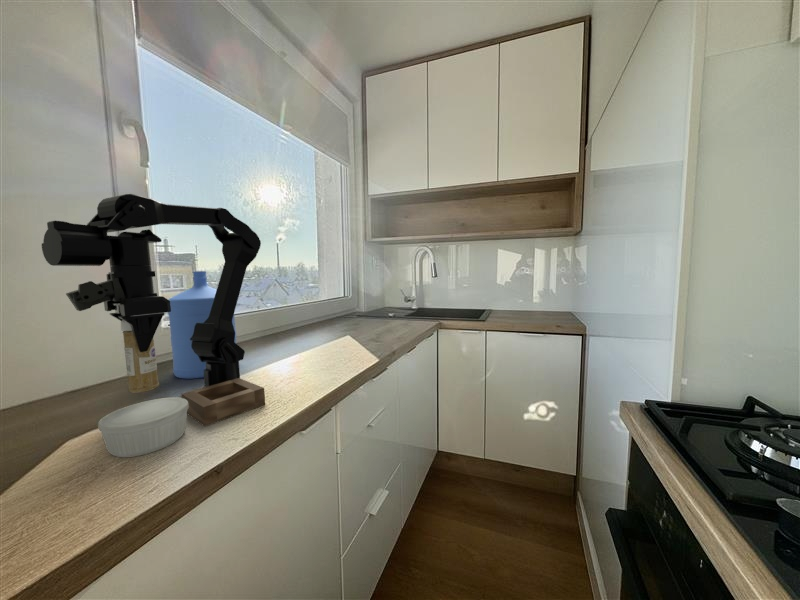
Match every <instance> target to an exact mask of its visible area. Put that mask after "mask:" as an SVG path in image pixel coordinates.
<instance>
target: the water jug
mask: <svg viewBox="0 0 800 600" xmlns="http://www.w3.org/2000/svg"><path fill="white" fill-rule="evenodd" d="M192 273H193V277H192V278H193V286H192V287H190V288H188V289H187V290H184V291H183V292H180V293H178V294H176V295H173V296H172V297H169V299H168V298H167V299H168V300H169V301H170V306H171V312H167V315H168V317H169V318H168V319H169V321H168V322H169V327H170V341H171V342H170V343H171V351H172V361H173V362H172V363H173V364H172V365H173V367H172V370H173V375H174V376H175V377H177V378H179V379H187V380H189V379H204V370H205V369H206V363H207V362H201V361H200V359H199V357H198V355H197V354H195V352H194V351H193V349H192V347H191V345H192V340H190V338H191V337H192V335H193V333H194V327H195V325H196V323H204V322H205V321H206V320H207V319H208V317H209V314H210V311H211V308H212V304H213V301H214V298H215V294H216V291H217V288H214V287H211V286H209V285H208V277H207V271H206V270H205V271H204V270H202V271H199V270H198V271H192ZM232 324H233V327H234V330H235V341H234V342H235V343H236V344H237V329H236V321H235V314H234V315H233V319H232Z"/></svg>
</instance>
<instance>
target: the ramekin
mask: <svg viewBox="0 0 800 600" xmlns="http://www.w3.org/2000/svg"><path fill="white" fill-rule="evenodd" d="M188 407H189V404H188V401H187V400H186V399H183V398H182V397H176V396H175V397H173V396H172V397H163V398H155V399H150V400H145V401H142V402H138V403H134V404H131V405H128V406H127V405H126V406H125V407H122V408H119V409H116V410H114V411H112V412H110V413H108V414H106V415H105V416H103V417H101V419H100V420H99V421H98V423H97V427H98V428H97V429H98V431H99V432H100V433H101V435H102V438H103V440H104V443H105V447H106V450H107V451H108V453H110V455H112V456H114V457H118V458H133V457H139V456H143V455H148V454H150V453H153V452H157V451H160V450H162V449H165V448H166V447H169V446H170V445H172V444H173V443H174V444H175V442H177V441H178V440H179V439H180V438H181V437H182V435H183V434H184V433H185V430H186V428H187V417H188V414H187V410H188Z"/></svg>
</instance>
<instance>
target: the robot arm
mask: <svg viewBox="0 0 800 600" xmlns="http://www.w3.org/2000/svg"><path fill="white" fill-rule="evenodd" d="M96 209H97V213H96V214H95V215H94V216H93V217H92V218H91V219H90V221H89V222H87V223H86V224H80V223H71V222H68V221H64V220H63V221H62V220H51V221H48V222H46V226H47V229H46V231H45V233H44V235H43V240H42V241H43V242H42V243H41V249H42V251H41V252H42V254H43V257H44V259H45V261H46V263H48V264H49V265H50V266H54V267H55V266H56V267H57V266H58V267H59V266H61V267H62V266H63V267H64V266H67V267H69V266H70V267H71V266H73V267H87V266H88V267H100V266H102V265H104V264H105V262H106V261H109V268H110V272H109V271H108V273H107V274H106V280H105V281H103V282H98V283H96V282H93V281H92V280H89V281H87V282H83V283H79V284H78V286H77V287H78V288H77V289H75V290H72V291H69V292H66V293H65V295H66V297H67V298H68V299H69V301H70V302H71V303H72V305H73V307H74V308H75V310H76V311H78V312H82V311H86V310H89V309H91V308H92V307H93V306H96V305H99V304H102V303H103V307H104V311H105V312H110V313H109V315H110V316H111V317H113V318H115V319H117V320H119V321H120V322H121V321H122V320H124V321H126V322H127V323H129V324H130V325H131V328H132V331H133V334H134V337H135V340H136V343H137V346H138V349H139V351H140V352H145V351H148V348H149V346H150V344H151V341H152V339H153V340H154V336H155V334H156V332H157V329H158V327H159V325H160V323H161V321H162V318H163V317H164V316H165V313H168V312H171V306H170V301H169V300H168V298H166V297H165V296H163V295H162V296H161V295H158V293H157V292H154V291H155V290H154V280H153V277H156V271H155V270H153V271H152V263H151V251H150V244H155V243H161V242H162V238H160V237H159V236H158V235H156V234H155V233H153V232H152V230H151V229H142V230H141V231H140V232H132V231H127V230H130V229H137V228H144V227H152V226H158V225H185V226H208V227H209V228H210V229H211V230H212V232H213V234H214V237H215V238H216V240H218V241H219V242H220V243H221V244H222V248H221V252H222V255H223V259H224V265H223V268H222V271H221V273H220V277H219V281H218V285H217V287H216V290H217V291H216V294H215V298H214V301H213V304H212V308H211V311H210V314H209V317H208V319H207V320H206V321H205V322H204V323H196V325H195V327H194V333H193V335H192V337H191V338H190V340H192V345H191V347H192V349H193V351H194V352H195V354H197V355H198V357H199V359H200V361H201V362H207V363H206V369H205V370H204V378H203V379H204V385H203V386H204V387H207V386H211V385H215V384H218V383H222V382H226V381H229V380H233V379H237V378H240V379H241V375H240V374H241V373H240V372H241V371H240V363H239V362H240V361H243V360H244V357H245V352H246V351H245V350H244V349H243V348H242V347H241V346H240V345H238V343H237V342H236V343H235V342H234V341H235V330H234V327H233V324H232V319H233V315H234V316H235V313H236V307H237V304H238V300H239V296H240V293H241V289H242V285H243V282H244V278H245V275H246V272H247V271H246V270H247V267H249V265H250V264H251V263H252V262H253V261H254V260H255V259H256V257H257V255H258V253H259V251H260V249H261V244H262V243H261V240H260V237H259V235H258V234H257V232H255V231H254V230H253V229H252V228H251V227H250V226H249V225H248V224H246V223H245V222H243V221H242V220H240V219H238V218H237V217H235V216H234V215H233V214H232V213H231V212H230V211H229V210H228V209H227V208H224V207H206V206H205V207H204V206H203V207H202V206H193V205H192V206H191V205H182V204H181V205H180V204H169V203H163V202H160V201H157V200H155V199H153V198H150V197H145V196H142V195H139V194H134V193H125V194H119V195H115V196H111V197H110V196H109V197H106V198H103V199H102V200H100V202H99V203H98V204H97V208H96ZM228 230H229V231H230V232H229V231H228ZM121 231H122V232H121ZM113 232H120V233H119V234H118V235H108V233H113ZM112 311H114V312H112Z"/></svg>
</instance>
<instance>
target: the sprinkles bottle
mask: <svg viewBox="0 0 800 600" xmlns="http://www.w3.org/2000/svg"><path fill="white" fill-rule="evenodd" d="M120 331H122V334H123V345H124V346H123V347H124V348H123V349H124V355H125V366H126V374H127V378H128V386H129V387H128V392H129V393H134V394H137V393H144V392H147V391H151V390H153V389H156V388H158V387H159V386H160V382H159V377H158V372H157V371H158V363H157V357H156V348H155V343H154V342H155V340H154V338H153V339H152V341H151V344H150V346H149V348H148V351H145V352H140V351H139V349H138V346H137V343H136V340H135V337H134V334H133V331H132V328H131V325H130V324H129V323H127V322H126V321H124V320H122V321H120Z"/></svg>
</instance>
